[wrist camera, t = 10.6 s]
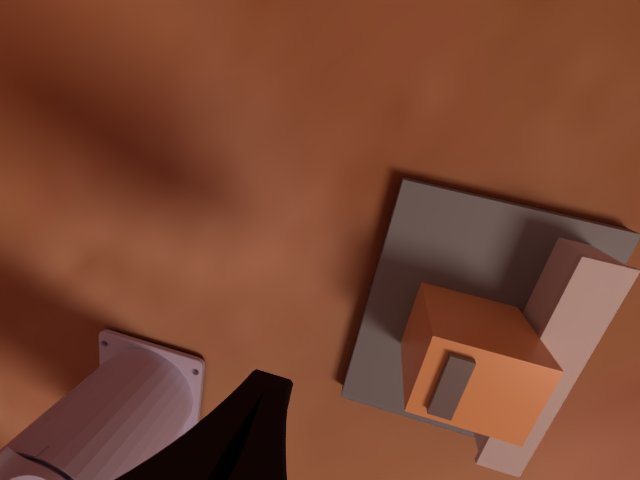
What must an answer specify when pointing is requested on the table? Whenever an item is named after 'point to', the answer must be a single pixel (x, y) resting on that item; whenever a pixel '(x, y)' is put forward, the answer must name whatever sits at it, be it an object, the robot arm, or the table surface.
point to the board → (490, 291)
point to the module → (475, 365)
